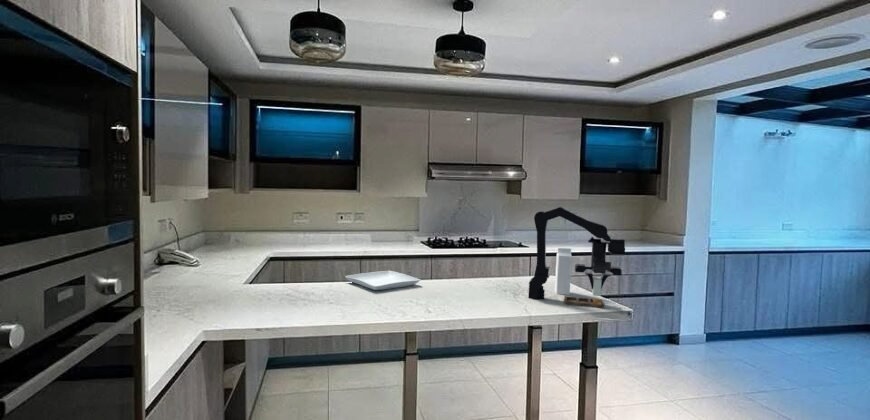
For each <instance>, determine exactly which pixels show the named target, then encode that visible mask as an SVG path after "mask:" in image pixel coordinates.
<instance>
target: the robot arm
mask: <svg viewBox="0 0 870 420" xmlns="http://www.w3.org/2000/svg"><path fill="white" fill-rule="evenodd" d="M559 217H561V218H562V219H564V220H567V221H569V222H570V223H573V224H575V225H577V226H580V228H583V229H585V230H586V231H587V232H589V234H591V235H593V236H594V237H595V238H594V237H593V236H591V237H590V238H589V239H588V240H587V242H588V243H592V244H591V256H590V257H591V258H590V259H591V261H590V266H586V265H585V264H583V263H576V264H574V271H575V273H584V274H585V275H586V276H587V277H588V279H589V284H590V286H591V290H592V289H593V277H594V276H593V275H594V274H601V275H600V276H601V277H600V278H601V280H602V282H601V290H602V289H603V286H604V284H605V283H606V280H607V278H608V277H611V274H612V275H613V276H622V274H623V273H622V272H623V270H622V269H621V267H619V266H614V265H613V266H612V262H611V261H606V257H607V255H606V253H607V252H608V253H609V255H615V256H625V253H626V247H625V246H626V242H625V241H626V240H625V239H624V238H618V239H617V238H611V236H610V235H609V234H608V229H607V227H606V225H604V224H602V223H599V222H596V221H591V220H588V219H586V218H584V217H583V216H580V215H578V214H576V213H574V212H571V211H570V210H567V209H565V208H564V207H563V206H558V207H557V208H554V209H550V210H547V211H545V210H540V211H538V212H536V213H535V214H534V217H533V219H534V225H535V231H536V264H535V265H536V266H535V269H534V270H535V271H534V276H532V277H531V279H530V280H529V282H528V299H531V300H538V301H539V300H545V290H546V289H545V288H544V284H546V283H547V282H548V279H550V275H551V274H550V268H551V267H550V265H549V266H547V262H546V261H547V259H546V254H547V253H546V252H547V251H546V250H547V249H546V247H547V245H546V244H547V241H546V239H547V237H546V236H547V235H546V234H547V232H546V231H547V227H548V224H549V223H548V222H549V221H550V220H554V219H556V218H559ZM603 240H604V241H603Z"/></svg>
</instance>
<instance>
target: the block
mask: <svg viewBox="0 0 870 420" xmlns="http://www.w3.org/2000/svg"><path fill="white" fill-rule="evenodd" d="M601 282H602V280H601V277H600V276H593V289H592V288H591V293H592V296H593V297H594V296H596V297H601V296H602V289H601Z"/></svg>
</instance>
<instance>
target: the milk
mask: <svg viewBox="0 0 870 420" xmlns="http://www.w3.org/2000/svg"><path fill="white" fill-rule="evenodd" d="M555 259H556V260H555V278H554V279H555V280H554V293H555V294H556V295H564V296H566V295H567V296H568V295H569V296H570V294H571V293H570V292H571V279H572V278H571V276H572V275H571V274H572V259H573V256H572V249H571V248H567V247H566V248H564V247H558V248H557V252H556V258H555Z"/></svg>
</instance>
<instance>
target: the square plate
mask: <svg viewBox="0 0 870 420" xmlns="http://www.w3.org/2000/svg"><path fill="white" fill-rule="evenodd" d="M344 277H345V278H346V280H348V281H349V282H352V283H355V284H357V285H359V286H362V287H366V288H367V289H371V290H374V291H383V290H390V289H396V288H397V289H398V288H404V287H405V288H406V287H408V286H412V285H416V284H418V283H419V282H420V281H421V279H420V278H417V277H414V276H412V275H408V274H405V273H402V272H397V271H394V270H382V271H379V270H378V271H372V272H362V273H355V274H350V275H345V276H344Z"/></svg>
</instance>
